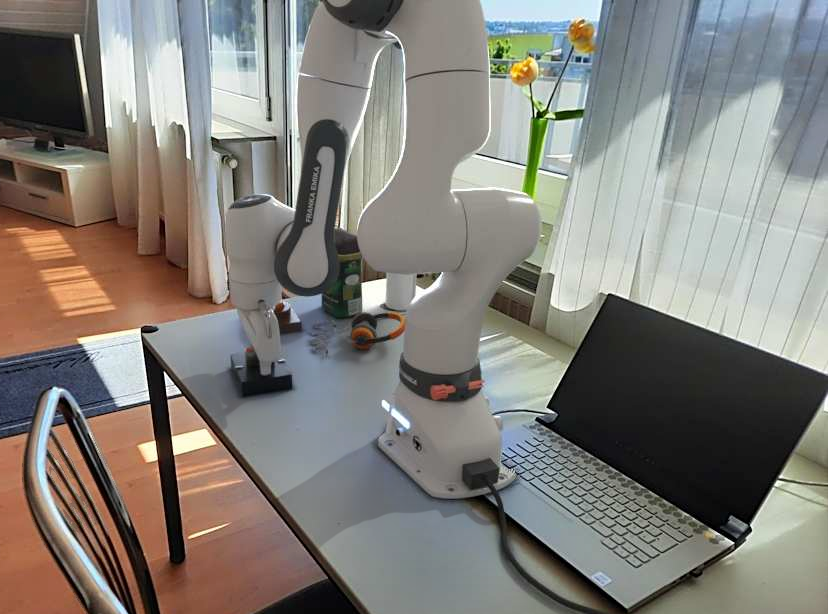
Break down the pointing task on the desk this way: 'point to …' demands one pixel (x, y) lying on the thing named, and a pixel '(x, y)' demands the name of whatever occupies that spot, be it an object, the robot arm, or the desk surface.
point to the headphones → (364, 330)
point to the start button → (279, 306)
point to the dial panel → (260, 377)
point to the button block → (287, 319)
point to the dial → (252, 358)
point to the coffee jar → (345, 278)
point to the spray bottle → (400, 290)
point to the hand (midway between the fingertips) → (260, 362)
